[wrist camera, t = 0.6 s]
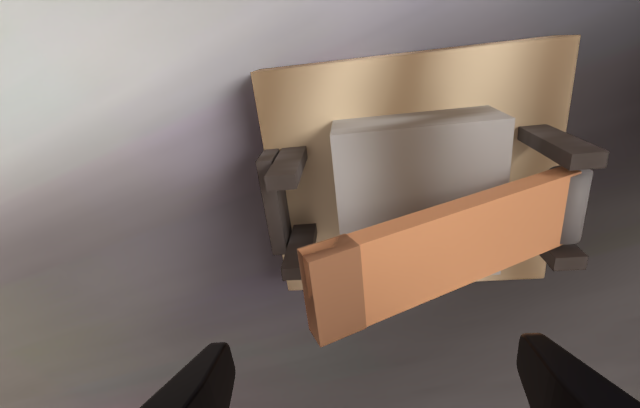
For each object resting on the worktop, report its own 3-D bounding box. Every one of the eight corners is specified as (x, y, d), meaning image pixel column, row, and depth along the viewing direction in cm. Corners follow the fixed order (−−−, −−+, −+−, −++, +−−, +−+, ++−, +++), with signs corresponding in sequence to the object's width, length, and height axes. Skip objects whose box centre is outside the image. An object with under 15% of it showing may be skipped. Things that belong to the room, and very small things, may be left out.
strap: (565, 160, 15) (602, 168, 14) (555, 227, 16) (588, 240, 15) (293, 245, 11) (312, 266, 10) (306, 324, 12) (324, 352, 11)
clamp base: (556, 35, 17) (664, 33, 11) (527, 258, 22) (594, 339, 16) (260, 69, 19) (219, 83, 13) (293, 270, 24) (274, 349, 18)
